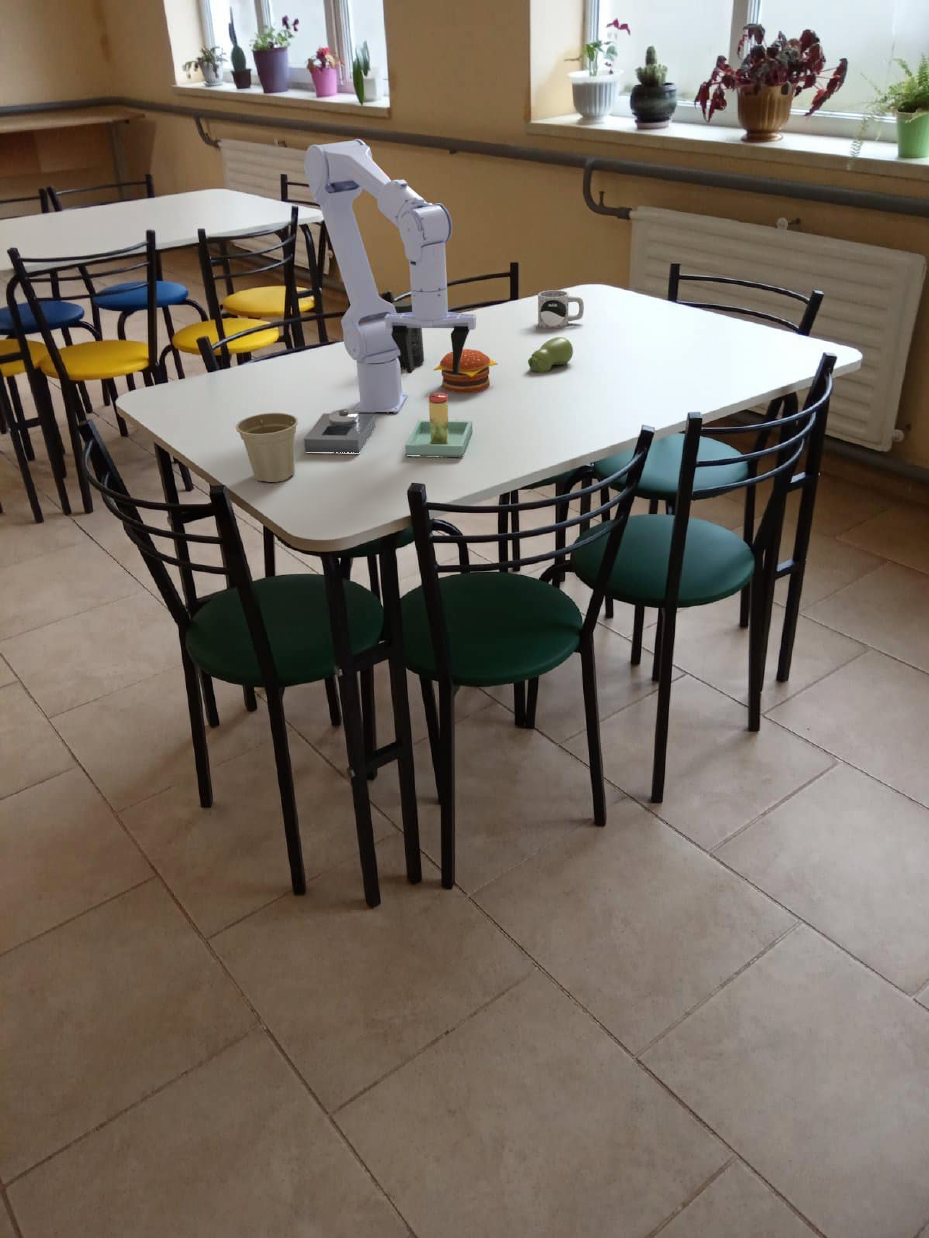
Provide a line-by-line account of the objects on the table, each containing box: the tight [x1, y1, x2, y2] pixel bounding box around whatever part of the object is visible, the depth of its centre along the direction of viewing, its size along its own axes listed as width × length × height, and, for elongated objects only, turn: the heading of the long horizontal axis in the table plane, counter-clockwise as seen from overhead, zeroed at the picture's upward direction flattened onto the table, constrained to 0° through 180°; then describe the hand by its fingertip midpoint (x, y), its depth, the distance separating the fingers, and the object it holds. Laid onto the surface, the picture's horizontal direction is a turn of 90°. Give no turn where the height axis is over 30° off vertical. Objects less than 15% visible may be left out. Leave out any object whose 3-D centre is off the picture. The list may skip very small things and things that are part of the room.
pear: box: [527, 336, 574, 374], centre depth 201 cm, size 6×5×10 cm
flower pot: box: [235, 412, 299, 483], centre depth 159 cm, size 9×9×9 cm
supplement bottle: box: [391, 300, 425, 369], centre depth 205 cm, size 7×7×12 cm
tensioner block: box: [303, 408, 376, 453], centre depth 172 cm, size 12×9×4 cm
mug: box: [537, 289, 585, 329], centre depth 226 cm, size 10×7×7 cm
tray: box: [405, 419, 473, 458], centre depth 169 cm, size 11×9×2 cm
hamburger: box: [433, 348, 499, 394], centre depth 193 cm, size 9×10×7 cm
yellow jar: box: [428, 392, 449, 444], centre depth 167 cm, size 3×3×8 cm
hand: (433, 371), depth 170 cm, fingers open, 7 cm apart
